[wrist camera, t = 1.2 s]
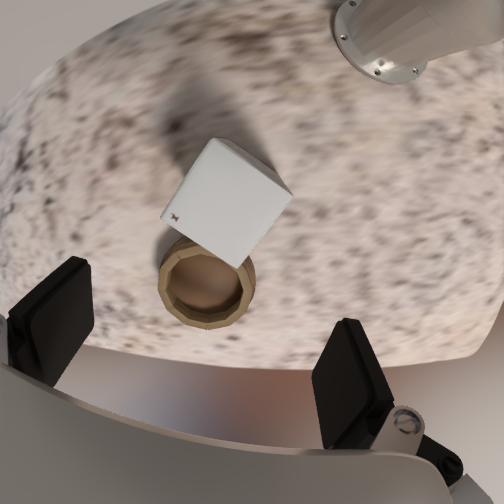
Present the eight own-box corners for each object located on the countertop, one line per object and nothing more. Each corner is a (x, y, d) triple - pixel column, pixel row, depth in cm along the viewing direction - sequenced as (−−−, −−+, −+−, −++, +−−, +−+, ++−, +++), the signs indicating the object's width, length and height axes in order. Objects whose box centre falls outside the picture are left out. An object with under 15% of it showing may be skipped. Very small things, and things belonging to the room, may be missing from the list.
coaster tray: (169, 221, 34) (161, 231, 31) (266, 245, 35) (268, 257, 32) (158, 303, 38) (150, 318, 35) (242, 324, 39) (241, 340, 36)
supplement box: (242, 225, 34) (235, 273, 22) (190, 189, 32) (154, 219, 21) (281, 175, 32) (297, 197, 20) (227, 136, 30) (210, 134, 18)
